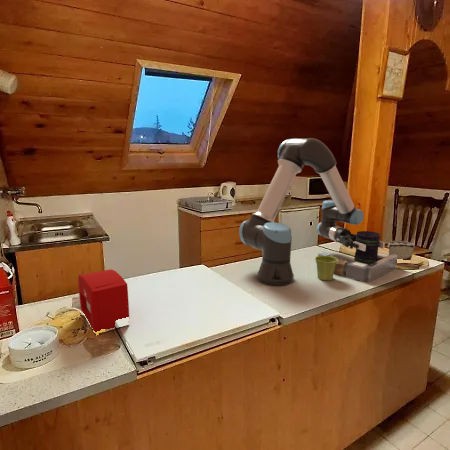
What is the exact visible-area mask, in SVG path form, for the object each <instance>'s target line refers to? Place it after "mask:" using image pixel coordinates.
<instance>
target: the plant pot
mask: <svg viewBox="0 0 450 450" xmlns="http://www.w3.org/2000/svg"><path fill="white" fill-rule="evenodd" d="M314 260H315V263H316V272H317V275H316V276H317V278H318V279H319V280H322V281H333V279H334V275H335V274H334V269H335V265H336V263H337V261H338V260H339V259H338V258H337V257H334V256H332V255H331V256H318V255H317V256H314Z"/></svg>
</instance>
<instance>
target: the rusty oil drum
mask: <svg viewBox="0 0 450 450" xmlns="http://www.w3.org/2000/svg"><path fill="white" fill-rule="evenodd" d="M356 235H357V236H356V242H359V243H361V244H364V245H366V250H365V251H362V250H359V249H357V248H355V253H354V257H353V262H354V261H357V262H361V263H365V264H368V265H370V264H372V263H375V262H377V261H378V252H379V243H380V241H381V238H380V237H381V234H380V233H378V232H375V231H368V230H367V231H366V230H359V231H357V232H356Z"/></svg>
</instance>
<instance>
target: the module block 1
mask: <svg viewBox="0 0 450 450" xmlns="http://www.w3.org/2000/svg"><path fill="white" fill-rule="evenodd" d="M367 266H368V264H365V263H361V262H357V261H354V260H353V261H351V262H349V263H347V266H346V272H345V277H346V278H349V279H352V280H355V281H356V280H357V281H360V282H367V281H366V271H367Z"/></svg>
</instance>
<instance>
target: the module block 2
mask: <svg viewBox="0 0 450 450" xmlns="http://www.w3.org/2000/svg"><path fill="white" fill-rule="evenodd" d="M388 256H390V255H389V253H385V252H379V251H378V261H379V260H381V259H383V258H386V257H388Z"/></svg>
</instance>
